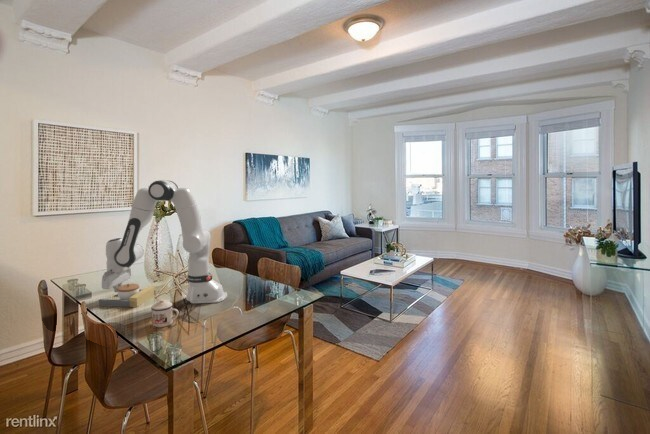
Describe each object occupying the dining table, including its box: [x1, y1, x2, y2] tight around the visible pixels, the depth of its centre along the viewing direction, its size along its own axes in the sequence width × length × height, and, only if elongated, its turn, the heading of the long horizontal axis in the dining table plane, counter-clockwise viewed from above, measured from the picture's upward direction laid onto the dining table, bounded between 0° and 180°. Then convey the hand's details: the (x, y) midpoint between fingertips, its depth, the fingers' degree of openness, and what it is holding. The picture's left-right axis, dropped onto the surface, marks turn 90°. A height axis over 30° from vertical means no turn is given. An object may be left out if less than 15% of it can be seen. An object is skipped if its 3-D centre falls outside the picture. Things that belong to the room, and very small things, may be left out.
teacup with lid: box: [150, 299, 180, 328], centre depth 159 cm, size 12×9×12 cm
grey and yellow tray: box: [98, 285, 156, 308], centre depth 187 cm, size 21×18×5 cm
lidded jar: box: [116, 283, 140, 300], centre depth 187 cm, size 11×11×9 cm
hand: (117, 291), depth 187 cm, fingers closed
